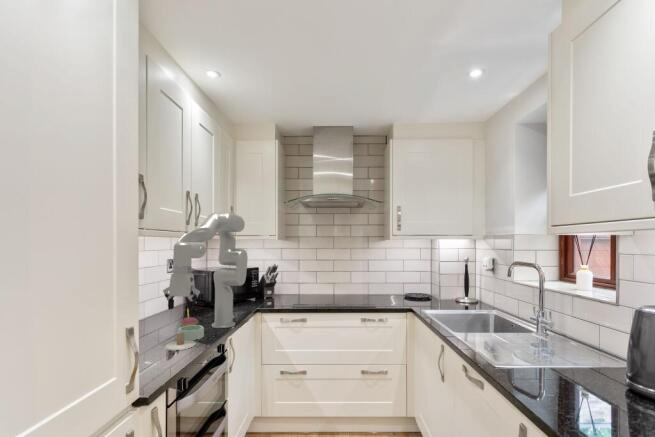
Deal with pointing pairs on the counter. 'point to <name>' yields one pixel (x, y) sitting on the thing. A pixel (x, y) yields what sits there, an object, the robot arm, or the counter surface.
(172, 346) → the lid
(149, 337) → the counter surface
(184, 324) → the cupcake
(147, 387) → the counter surface
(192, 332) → the bowl
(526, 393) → the counter surface
